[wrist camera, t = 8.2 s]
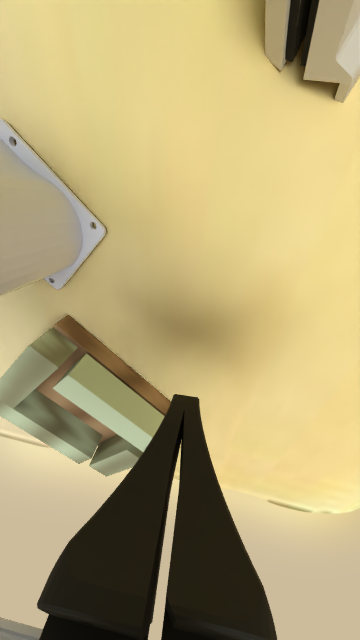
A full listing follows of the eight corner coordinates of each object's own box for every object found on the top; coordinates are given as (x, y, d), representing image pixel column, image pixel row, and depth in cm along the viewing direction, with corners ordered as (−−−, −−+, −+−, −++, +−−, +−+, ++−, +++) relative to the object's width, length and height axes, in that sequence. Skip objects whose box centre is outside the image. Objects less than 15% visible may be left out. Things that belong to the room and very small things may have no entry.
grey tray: (16, 371, 27) (-22, 403, 23) (68, 314, 21) (31, 342, 17) (117, 441, 32) (102, 478, 28) (181, 411, 26) (175, 451, 22)
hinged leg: (179, 428, 24) (174, 459, 21) (162, 435, 25) (155, 466, 22) (86, 353, 20) (64, 379, 17) (71, 366, 22) (48, 392, 18)
